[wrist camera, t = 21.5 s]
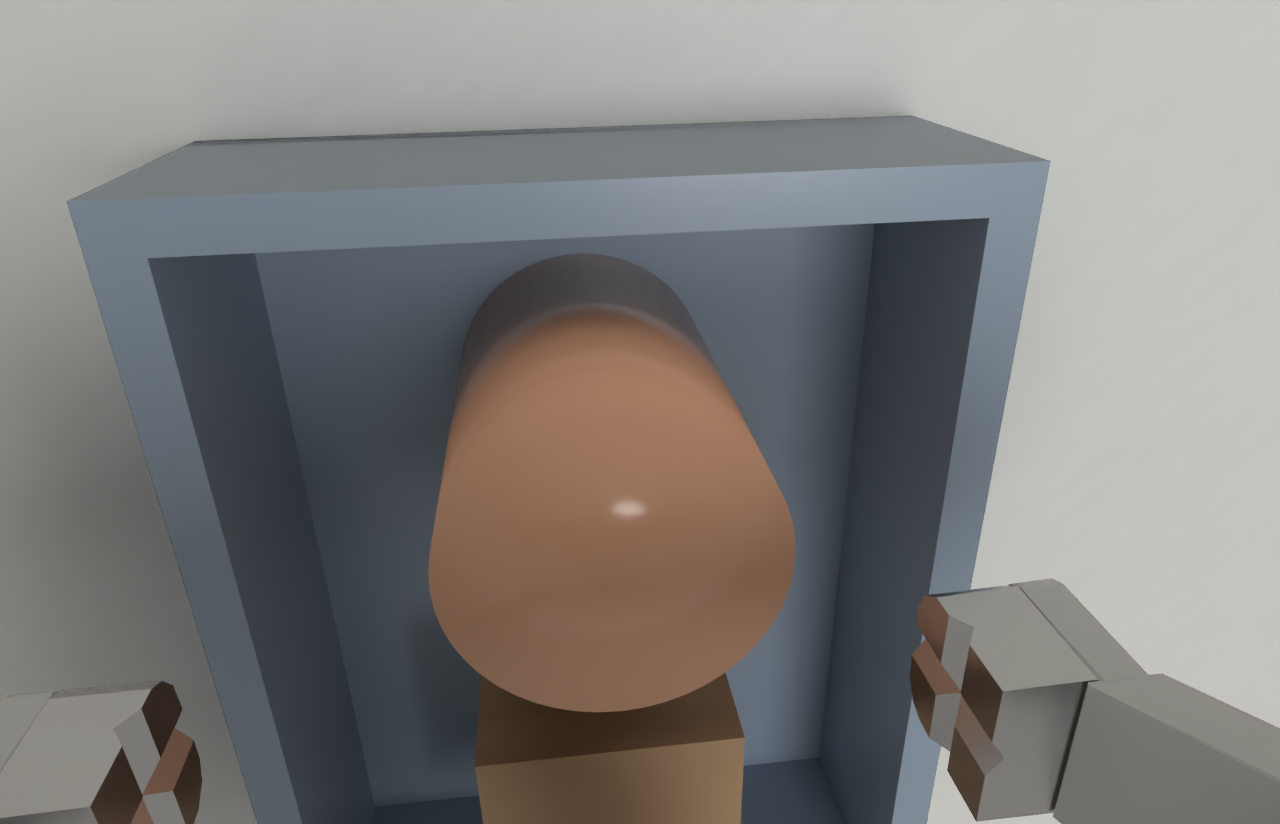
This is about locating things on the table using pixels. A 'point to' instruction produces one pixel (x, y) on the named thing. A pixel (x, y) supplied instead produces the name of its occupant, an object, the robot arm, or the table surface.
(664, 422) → the terracotta cylinder
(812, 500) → the tote
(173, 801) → the robot arm
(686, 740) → the walnut cube
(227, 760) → the table surface
